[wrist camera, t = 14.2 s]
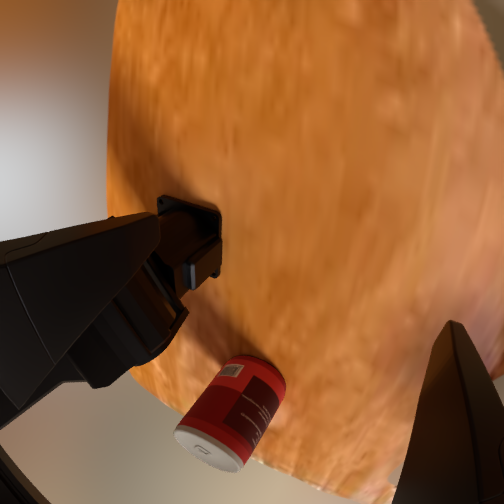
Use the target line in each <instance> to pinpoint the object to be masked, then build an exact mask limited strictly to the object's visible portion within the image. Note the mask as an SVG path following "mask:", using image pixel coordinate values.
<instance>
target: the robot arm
mask: <svg viewBox="0 0 504 504" xmlns="http://www.w3.org/2000/svg"><path fill="white" fill-rule="evenodd" d="M162 200H163V201H162ZM157 207H158V214H157V215H155V214H153V213H150V212H142V213H137V214H131V215H126V216H121V217H114V216H111V217H109V218H108V219H106V220H101V221H96V222H91V223H86V224H81V225H76V226H72V227H67V228H63V229H59V230H54V231H50V232H45V233H40V234H36V235H31V236H27V237H22V238H17V239H12V240H7V241H2V242H0V430H1V429H2V428H3V427H5V426H6V425H8V424H9V423H10V422H12V421H13V420H14V419H16V418H17V417H18V416H20V415H21V414H22V413H24V412H25V411H26V410H27V409H29V408H30V407H32V406H33V405H34V404H35V403H37V402H38V401H39V400H41V399H42V398H43V397H45V396H46V395H47V394H49V393H50V392H51V391H53V390H54V389H55V388H57V387H58V386H59V385H61V384H62V383H65V382H87V383H88V384H89V385H90V386H91V387H92V388H93V389H97V388H102V387H107V386H109V385H111V384H112V383H113V382H114V381H115V380H117V379H118V378H119V377H120V376H121V375H123V374H124V373H125V372H126V371H128V370H129V369H130V368H132V367H133V366H141V365H144V364H146V363H148V362H150V361H151V360H153V359H154V358H156V357H157V356H159V355H160V354H161V353H162V352H163V351H164V350H165V349H166V348H167V347H168V345H169V344H170V343H171V341H172V340H173V338H174V336H175V335H176V333H177V332H178V330H179V328H180V327H181V325H182V324H183V322H184V321H185V319H186V317H187V316H188V314H189V311H188V309H187V308H186V307H184V305H183V304H182V302H181V301H180V298H181V297H182V296H183V295H184V294H185V293H186V292H187V291H188V290H189V289H190V290H195V289H197V288H198V287H199V286H200V285H201V284H202V283H203V282H204V281H205V280H206V279H207V278H208V277H209V276H210V277H212V278H217V277H218V276H219V275H220V266H221V264H222V239H221V228H222V216H221V214H220V213H219V212H217V211H214V210H211V209H208V208H205V207H201V206H198V205H195V204H192V203H188V202H185V201H182V200H179V199H175V198H172V197H169V196H165V195H161V196H160V197H158V198H157ZM214 216H215V217H216V219H215V218H214ZM214 272H215V273H214ZM0 504H51V503H50V502H49V501H48V500H47V499H46V498H45V497H44V496H43V495H42V494H41V493H40V492H39V490H38V489H37V488H36V487H35V486H34V485H33V484H32V483H31V482H30V481H29V479H28V478H27V477H26V476H25V475H24V474H23V473H22V471H21V470H20V469H19V468H18V467H17V465H16V464H15V463H14V462H13V460H12V459H11V458H10V457H9V455H8V454H7V453H6V452H5V450H4V449H3V448H2V446H1V445H0ZM392 504H504V406H503V404H502V402H501V399H500V397H499V395H498V393H497V391H496V389H495V386H494V384H493V382H492V380H491V378H490V376H489V373H488V371H487V369H486V367H485V365H484V363H483V361H482V359H481V357H480V355H479V354H478V352H477V350H476V348H475V346H474V344H473V342H472V340H471V338H470V337H469V335H468V333H467V331H466V329H465V328H464V326H463V324H461V323H459V322H456V321H453V320H449V321H448V322H447V323H446V324H445V326H444V327H443V329H442V331H441V332H440V334H439V335H438V337H437V339H436V340H435V342H434V344H433V347H432V351H431V355H430V359H429V363H428V367H427V371H426V375H425V378H424V382H423V385H422V389H421V392H420V396H419V401H418V405H417V410H416V415H415V420H414V425H413V429H412V434H411V438H410V442H409V446H408V450H407V454H406V458H405V461H404V465H403V469H402V472H401V476H400V479H399V482H398V485H397V489H396V492H395V495H394V498H393V501H392Z"/></svg>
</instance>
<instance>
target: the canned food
mask: <svg viewBox="0 0 504 504" xmlns="http://www.w3.org/2000/svg"><path fill="white" fill-rule="evenodd" d="M285 391H286V384H285V381H284V379H283V377H282V376H281V374H280V373H279V372H278V371H277V370H276V369H275V368H274V367H272V366H271V365H270V364H268V363H266V362H265V361H263V360H260V359H258V358H255V357H251V356H236V357H234V358H232V359H230V360H229V361H228V362H226V363H225V365H224V366H223V367H222V368H221V370H220V371H219V372H218V374H217V375H216V376H215V378H214V379H213V380H212V382H211V383H210V384H209V385H208V387H207V388H206V389H205V391H204V392H203V393H202V394H201V396H200V397H199V398H198V400H197V401H196V402H195V403H194V405H193V406H192V407H191V408H190V410H189V411H188V412H187V414H186V415H185V416H184V417H183V419H182V420H181V421H180V423H179V424H178V425H177V427H176V429H175V430H174V432H173V434H174V436H175V438H176V440H177V441H178V442H179V444H180V445H181V446H182V447H183V448H185V449H186V450H187V451H188V452H189V453H191V454H192V455H193V456H195V457H196V458H198V459H199V460H201V461H203V462H204V463H206V464H208V465H210V466H212V467H215V468H217V469H219V470H222V471H226V472H231V473H237V472H239V471H240V470H241V469H242V468H243V466H244V465H245V463H246V462H247V460H248V459H249V457H250V456H251V454H252V452H253V451H254V449H255V447H256V446H257V444H258V442H259V441H260V439H261V437H262V436H263V434H264V432H265V430H266V429H267V427H268V425H269V423H270V422H271V420H272V418H273V416H274V415H275V413H276V411H277V409H278V407H279V406H280V404H281V402H282V400H283V398H284V396H285Z"/></svg>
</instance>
